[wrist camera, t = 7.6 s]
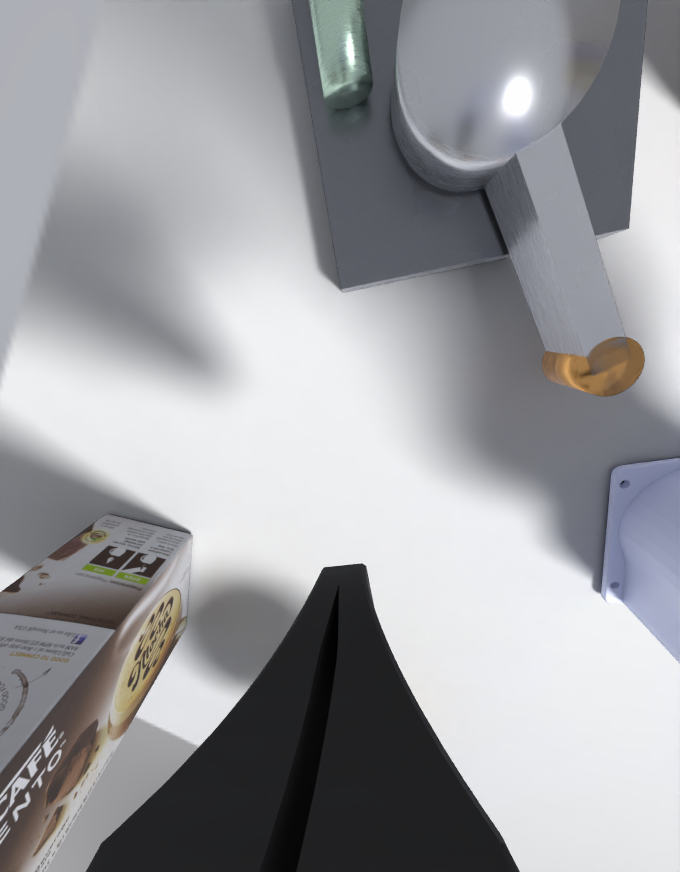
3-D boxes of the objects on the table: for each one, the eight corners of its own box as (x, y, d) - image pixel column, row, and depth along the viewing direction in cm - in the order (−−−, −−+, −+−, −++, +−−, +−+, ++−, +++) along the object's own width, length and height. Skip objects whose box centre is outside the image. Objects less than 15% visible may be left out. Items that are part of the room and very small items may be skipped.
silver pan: (362, 61, 12) (362, -21, 9) (523, -68, 11) (582, -211, 8) (511, 411, 16) (544, 430, 13) (644, 347, 14) (713, 353, 12)
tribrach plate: (603, 237, 15) (673, 212, 11) (343, 292, 16) (337, 284, 13) (624, -118, 11) (733, -303, 8) (292, -7, 13) (267, -124, 9)
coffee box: (101, 510, 21) (-537, 964, 6) (196, 532, 22) (-207, 1036, 6) (105, 612, 24) (-320, 1083, 9) (188, 631, 25) (-99, 1131, 9)
